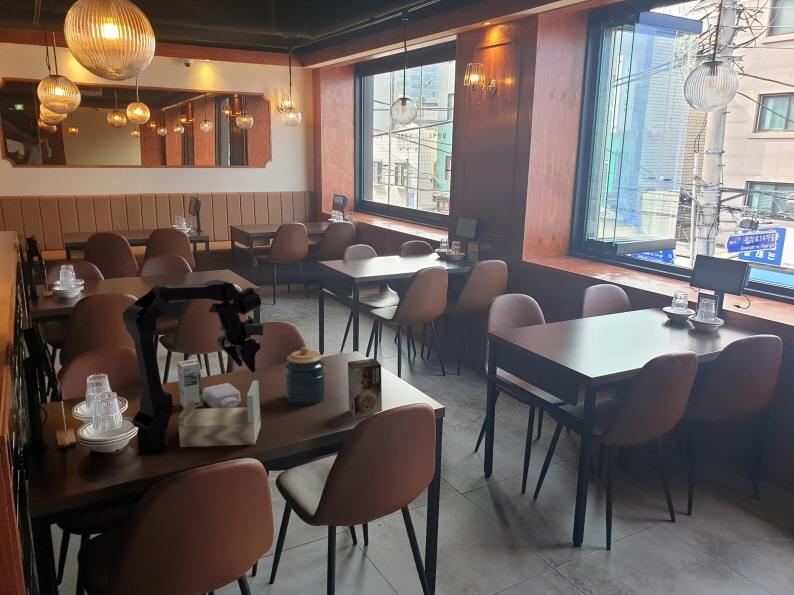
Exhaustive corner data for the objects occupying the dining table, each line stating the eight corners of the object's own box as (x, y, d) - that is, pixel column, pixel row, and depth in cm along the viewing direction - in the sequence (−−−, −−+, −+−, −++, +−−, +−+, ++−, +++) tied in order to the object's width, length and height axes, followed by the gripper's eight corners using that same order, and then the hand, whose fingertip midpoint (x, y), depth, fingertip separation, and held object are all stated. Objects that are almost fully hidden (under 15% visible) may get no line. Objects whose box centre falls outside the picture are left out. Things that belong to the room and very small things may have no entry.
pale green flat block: (248, 423, 167) (246, 395, 165) (254, 406, 178) (253, 380, 177) (253, 422, 167) (252, 395, 165) (259, 406, 178) (258, 380, 177)
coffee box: (375, 406, 195) (375, 357, 191) (382, 413, 189) (382, 364, 186) (348, 410, 192) (347, 361, 188) (354, 418, 186) (353, 367, 182)
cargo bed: (180, 447, 167) (178, 417, 165) (190, 428, 178) (188, 401, 176) (254, 444, 168) (253, 415, 166) (260, 426, 180) (259, 398, 178)
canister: (321, 389, 209) (320, 339, 206) (329, 403, 197) (328, 350, 194) (283, 393, 205) (281, 343, 202) (289, 408, 193) (287, 354, 190)
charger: (220, 416, 187) (203, 401, 199) (248, 410, 192) (230, 395, 204) (219, 402, 186) (202, 388, 198) (247, 395, 191) (229, 382, 203)
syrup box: (185, 410, 191) (181, 366, 188) (180, 404, 196) (176, 360, 193) (203, 406, 195) (200, 362, 191) (198, 400, 199) (195, 357, 196)
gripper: (268, 314, 175) (284, 363, 180) (242, 307, 190) (257, 352, 195) (233, 329, 170) (250, 379, 174) (209, 321, 184) (225, 367, 189)
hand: (247, 368), depth 183 cm, fingers open, 9 cm apart
